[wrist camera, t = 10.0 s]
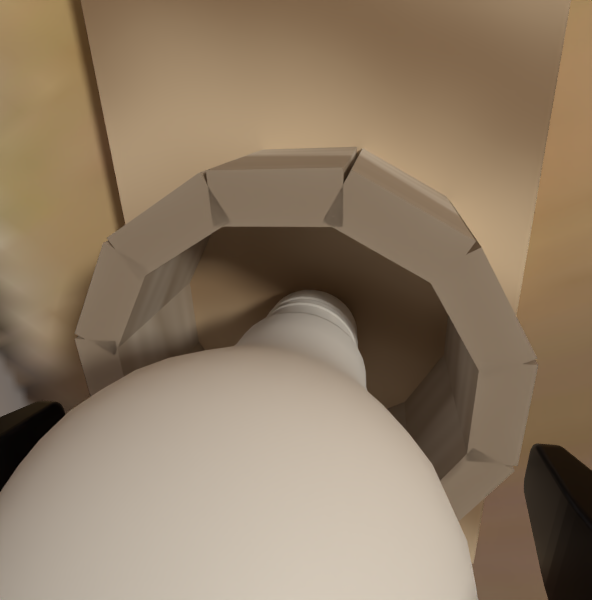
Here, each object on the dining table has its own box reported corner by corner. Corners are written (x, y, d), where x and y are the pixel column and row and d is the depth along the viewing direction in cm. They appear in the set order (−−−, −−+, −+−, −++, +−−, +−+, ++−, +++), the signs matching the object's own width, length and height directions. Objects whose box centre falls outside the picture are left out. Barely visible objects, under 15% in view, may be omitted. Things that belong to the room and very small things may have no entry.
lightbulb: (203, 370, 15) (-186, 941, 5) (235, 188, 12) (-510, 607, 2) (383, 427, 14) (380, 1185, 4) (457, 251, 11) (919, 1178, 2)
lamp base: (468, 539, 17) (499, 699, 12) (194, 504, 19) (134, 630, 14) (572, -107, 9) (756, -315, 5) (94, -48, 11) (-104, -151, 7)
